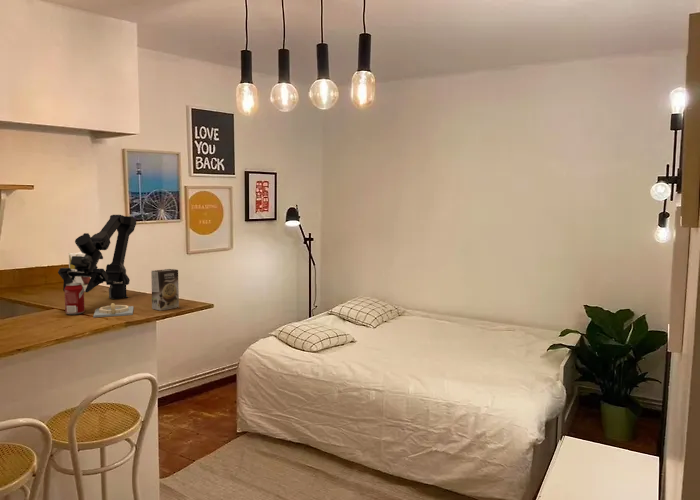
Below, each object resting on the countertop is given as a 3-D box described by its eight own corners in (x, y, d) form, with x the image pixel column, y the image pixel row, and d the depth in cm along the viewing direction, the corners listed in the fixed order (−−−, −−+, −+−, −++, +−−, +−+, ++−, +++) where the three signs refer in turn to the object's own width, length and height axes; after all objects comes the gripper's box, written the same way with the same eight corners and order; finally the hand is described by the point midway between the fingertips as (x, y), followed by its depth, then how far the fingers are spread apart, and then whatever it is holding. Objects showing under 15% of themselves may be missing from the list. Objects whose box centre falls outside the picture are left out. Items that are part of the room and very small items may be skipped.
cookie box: (160, 310, 215) (159, 271, 214) (151, 308, 219) (150, 270, 218) (179, 307, 222) (178, 269, 221) (170, 305, 226) (169, 268, 225)
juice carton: (67, 292, 256) (65, 253, 254) (81, 289, 264) (79, 251, 262) (80, 293, 254) (78, 253, 252) (93, 290, 262) (92, 252, 260)
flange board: (96, 310, 216) (96, 298, 215) (133, 307, 221) (133, 296, 220) (93, 317, 203) (92, 305, 202) (132, 314, 208) (132, 302, 207)
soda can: (76, 315, 205) (75, 285, 204) (61, 314, 207) (60, 284, 206) (88, 312, 212) (87, 282, 211) (73, 311, 213) (72, 282, 212)
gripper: (59, 248, 214) (42, 278, 204) (103, 248, 212) (88, 279, 202) (72, 265, 222) (56, 295, 212) (114, 266, 221) (100, 296, 211)
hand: (75, 291), depth 209 cm, fingers open, 9 cm apart
